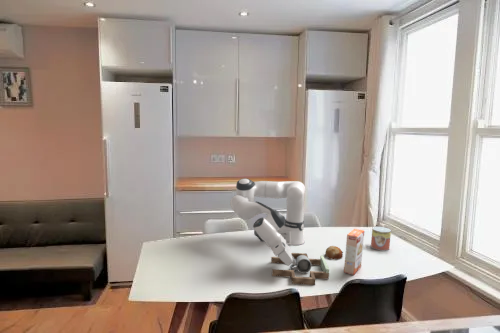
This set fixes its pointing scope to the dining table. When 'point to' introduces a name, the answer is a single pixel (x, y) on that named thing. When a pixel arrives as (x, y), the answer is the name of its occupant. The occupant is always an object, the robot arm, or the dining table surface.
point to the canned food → (380, 238)
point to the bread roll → (333, 252)
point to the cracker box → (353, 251)
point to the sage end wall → (324, 265)
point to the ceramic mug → (302, 264)
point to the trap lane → (290, 273)
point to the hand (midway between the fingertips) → (295, 263)
